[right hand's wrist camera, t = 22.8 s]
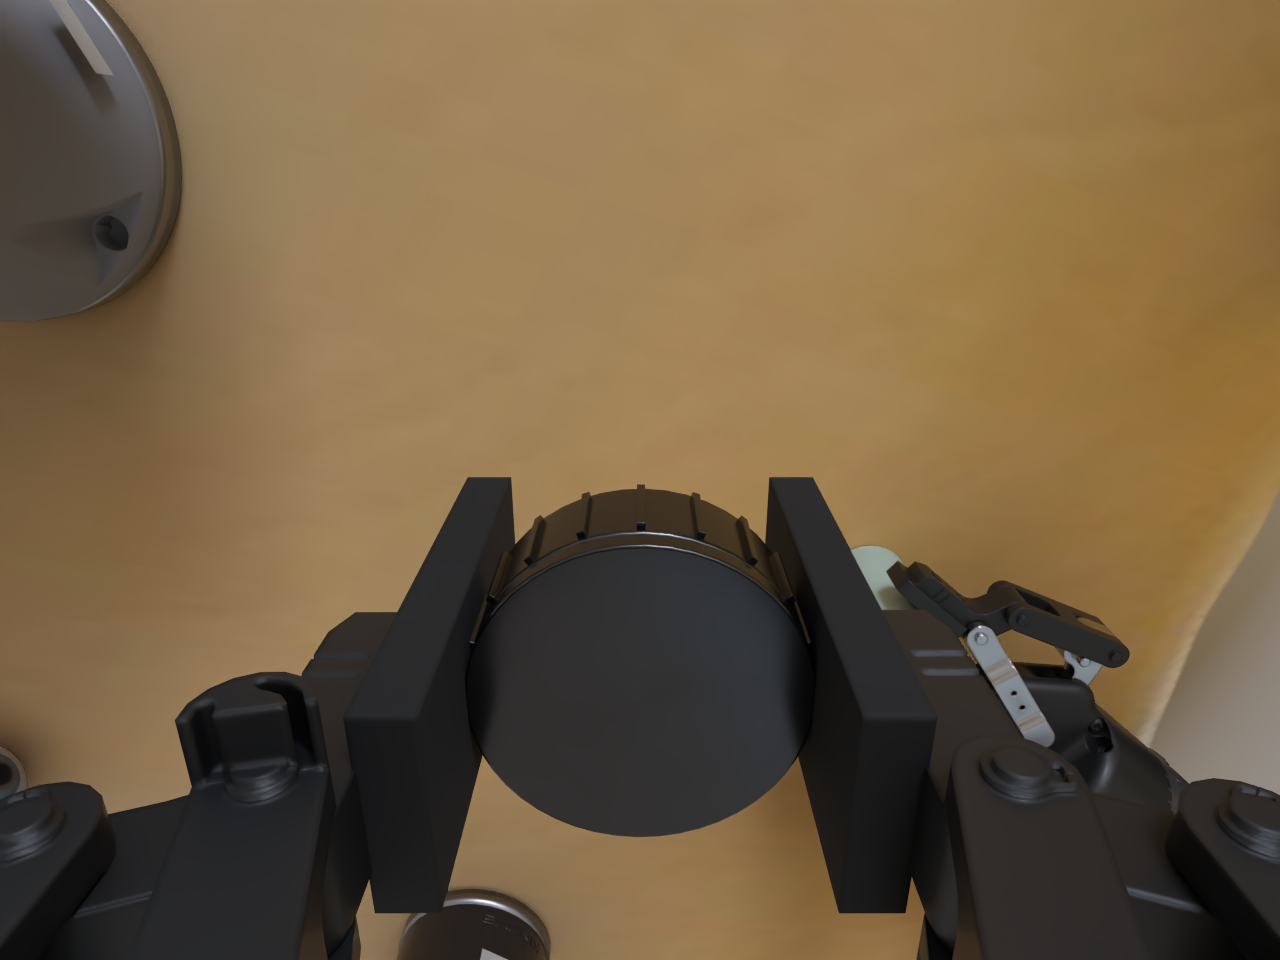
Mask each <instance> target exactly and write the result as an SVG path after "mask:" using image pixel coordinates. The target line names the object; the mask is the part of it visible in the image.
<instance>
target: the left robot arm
mask: <svg viewBox="0 0 1280 960" xmlns="http://www.w3.org/2000/svg"><path fill="white" fill-rule="evenodd" d="M886 572H887V574H888V576H889V578H890V579H891V581H892V583H893V585H894V586H895V588H896V589H897V590H898V591H899V593H900V594H901V595H902V596H903V597H905V598H906V599H907V600H908V601H909V602H911V603H912V604H913V605H914V606H915V607H917V608H918V609H919V610H926V611H928V612H929V613H930V614H932V615H933V616H934V617H936V618H937V619H939V620H940V621H941V622H943V623H944V624H946V625H947V626H948V627H950V628H951V629H952V630H953V631H954V633H955V634H956V636H957V637H958V638H959V637H960V636H961V637H962V638H963V640H964V642H965V644H966V645H967V647H968V649H969V650H970V652H971V654H972V655H973V657H974V659H975V660H976V662H977V664H976V667H977V668H978V670H979V675H980V676H983V677H984V679H985V681H986V682H987V684H988V685H989V687H990V688H991V690H992V691H993V693H994V694H995V696H996V698H997V699H998V701H999V702H1000V704H1001V705H1002V707H1003V708H1004V710H1005V711H1006V713H1007V715H1008V716H1009V718H1010V719H1011V721H1012V722H1013V724H1014V725H1015V727H1016V728H1017V730H1018V732H1019V733H1020V735H1021V736H1022V738H1024V739H1028V740H1031V741H1034V742H1036V743H1038V744H1040V745H1042V746H1045V747H1047V748H1049V749H1051V750H1053V751H1055V752H1057V753H1058V754H1059V755H1061V756H1062V757H1063V758H1064V759H1066V760H1067V761H1068V762H1069V763H1071V764H1072V765H1073V766H1074V767H1076V768H1077V770H1078V771H1079V773H1080V774H1081V776H1082V777H1083V779H1084V780H1085V782H1086V783H1087V785H1088V787H1089V789H1090V791H1092V792H1095V793H1099V794H1102V795H1106V796H1109V797H1112V798H1116V799H1120V800H1125V801H1129V802H1134V803H1138V804H1143V805H1147V806H1152V807H1156V808H1161V809H1165V810H1170V811H1174V809H1175V806H1176V803H1177V800H1178V797H1179V793H1180V792H1181V791H1182V790H1183V789H1184V788H1185V787H1187V786H1188V785H1189V783H1188V782H1186V781H1185V780H1184V779H1183V778H1182V777H1181V776H1180V775H1179V774H1178V773H1177V772H1176V771H1175V770H1173V769H1172V768H1171V767H1170V766H1169V764H1168V763H1167V762H1166V761H1165V759H1164V758H1163V757H1162V756H1161V755H1159V754H1158V753H1157V752H1155V751H1154V750H1152V749H1151V748H1150V749H1149V748H1148V747H1146V746H1145V745H1144V744H1143V743H1142V742H1141V741H1139V740H1138V739H1137V738H1136V737H1135V736H1134V735H1132V734H1131V733H1130V732H1129V731H1128V730H1127V729H1125V728H1124V727H1123V726H1122V725H1121V724H1119V723H1118V722H1117V721H1116V720H1115V719H1114V718H1112V717H1111V716H1110V715H1109V714H1108V713H1107V712H1105V711H1104V710H1103V709H1102V708H1101V707H1099V706H1098V705H1097V704H1096V703H1095V700H1094V695H1093V692H1092V690H1091V689H1090V687H1089V685H1090V683H1091V682H1092V681H1093V679H1094V678H1095V676H1096V675H1097V674H1098V672H1099V671H1100V670H1101V668H1102V667H1103V666H1106V667H1109V668H1116V667H1119V666H1121V665H1123V664H1124V663H1125V662H1126V661H1127V660H1128V658H1129V650H1128V648H1127V647H1126V646H1125V645H1124V644H1123V643H1122V642H1121V641H1120V640H1119V639H1118V638H1117V637H1116V636H1115V635H1114V634H1113V633H1112V632H1111V631H1110V630H1109V629H1108V628H1107V627H1106V626H1105V625H1104V624H1103V623H1102V622H1101V621H1100V620H1099V619H1098V618H1097V617H1095V616H1092V615H1090V614H1087V613H1085V612H1082V611H1080V610H1077V609H1075V608H1072V607H1070V606H1067V605H1065V604H1062V603H1060V602H1057V601H1055V600H1052V599H1050V598H1047V597H1045V596H1042V595H1040V594H1037V593H1035V592H1032V591H1030V590H1027V589H1025V588H1022V587H1020V586H1017V585H1015V584H1012V583H1010V582H1007V581H997V582H995V583H993V584H992V585H991V586H990V587H989V589H988V591H987V594H985V595H983V596H981V597H978V598H966V597H963V596H962V595H960V594H959V593H958V592H957V591H956V590H955V589H953V588H952V587H951V586H950V585H949V584H948V583H946V582H945V581H944V580H943V579H941V578H940V577H939V576H938V575H937V574H936V573H934V572H933V571H932V570H931V569H930V568H929V567H928V566H926V565H924V564H921V563H918V562H914V563H913V564H912V565H911V566H909V567H908V568H907V567H906V566H904V565H903V564H902V563H901V562H899V561H897V562H895V563H894V564H893V565H892V566H891V567H890V568H889V569H888V570H887V571H886ZM1011 629H1013V630H1014V631H1017V632H1019V633H1022V634H1024V635H1027V636H1029V637H1032V638H1035V639H1037V640H1040V641H1042V642H1045V643H1047V644H1050V645H1053V646H1055V648H1056V650H1057V651H1058V652H1059V653H1060V655H1061V656H1062V657H1063V658H1064V659H1065V664H1064V666H1062V665H1050V664H1035V663H1021V662H1011V661H1010V659H1009V657H1008V656H1007V654H1006V652H1005V650H1004V649H1003V647H1002V645H1001V644H1000V642H999V640H998V638H997V637H996V636H997V635H1000V634H1002V633H1004V632H1006V631H1008V630H1011ZM550 946H551V945H550V938H549V934H548V932H547V929H546V927H545V925H544V924H543V922H542V921H541V919H540V918H539V917H538V916H537V915H536V914H535V913H534V912H533V911H532V910H531V909H530V908H528V907H527V906H526V905H524V904H523V903H521V902H519V901H517V900H516V899H513V898H511V897H509V896H506V895H503V894H500V893H497V892H492V891H487V890H478V889H464V890H455V891H450V892H447V894H446V898H445V902H444V906H443V909H442V913H412V914H411V915H410V917H409V918H408V920H407V922H406V925H405V927H404V930H403V934H402V937H401V940H400V944H399V953H398V956H397V959H396V960H549V958H550Z"/></svg>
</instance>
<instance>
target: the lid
mask: <svg viewBox="0 0 1280 960" xmlns="http://www.w3.org/2000/svg"><path fill="white" fill-rule="evenodd" d="M810 647H811V642H810V639H809V636H808V633H807V630H806V627H805V624H804V621H803V618H802V615H801V613H800V610H799V607H798V604H797V601H796V598H795V595H794V593H793V590H792V587H791V585H790V582H789V579H788V576H787V573H786V570H785V567H784V564H783V561H782V558H781V556H780V554H779V553H778V552H776V553H774V554H772V552H771V551H770V549H769V548H768V547H767V546H766V545H765V543H764V542H763V541H762V540H761V539H760V538H759V536H758V535H757V534H756V533H754V532H753V531H752V530H751V529H750V528H749V525H748V521H747V519H746V518H744V517H743V516H741V517H740V518H739V519H737V518H736V517H734V516H733V515H731V514H730V513H728V512H727V511H725V510H723V509H721V508H719V507H717V506H715V505H713V504H711V503H708V502H706V501H703V500H701V499H700V494H697V493H694V492H693V493H692V495H691V496H689V495H685V494H680V493H675V492H670V491H665V490H653V489H645V485H637V489H627V490H618V491H611V492H605V493H600V494H597V495H593V496H591V495H590V492H587V493H584V494H582V499H580V500H578V501H576V502H573V503H571V504H569V505H566V506H564V507H562V508H560V509H559V510H557V511H555V512H554V513H552V514H550V515H548V516H547V517H545V518H544V519H543V518H542V516H541V515H540V516H538V517H537V518H536V519H535V520H534V524H533V527H532V528H531V529H530V530H529V531H528V532H527V533H526V534H525V535H524V536H523V537H522V538H521V539H520V540H519V541H518V542H517V543H516V544H515V546H514V547H513V549H512V550H511V551H510V553H507V552H505V551H504V552H503V553H502V555H501V557H500V560H499V562H498V565H497V568H496V571H495V574H494V577H493V580H492V583H491V586H490V589H489V592H488V595H487V594H486V595H485V598H484V601H483V604H482V607H481V610H480V613H479V616H478V619H477V622H476V625H475V627H474V630H473V633H472V636H471V639H470V649H472V650H471V653H470V656H469V659H468V664H467V669H466V675H465V690H466V702H467V712H468V720H469V723H470V727H471V730H472V733H473V736H474V738H475V740H476V742H477V745H478V747H479V749H480V751H481V753H482V755H483V756H484V758H485V759H486V761H487V762H488V764H489V765H490V767H491V768H492V770H493V771H494V772H495V773H496V774H497V775H498V776H499V778H500V779H501V780H502V781H503V782H504V783H505V784H506V785H507V786H508V787H509V788H510V789H511V790H512V791H514V792H515V793H516V794H517V795H518V796H519V797H520V798H522V799H523V800H525V801H526V802H528V803H529V804H531V805H532V806H534V807H535V808H536V809H538V810H540V811H542V812H544V813H546V814H548V815H549V816H551V817H553V818H555V819H558V820H560V821H563V822H565V823H568V824H570V825H573V826H575V827H579V828H583V829H586V830H590V831H593V832H598V833H604V834H610V835H616V836H631V837H649V836H663V835H671V834H678V833H683V832H687V831H691V830H695V829H700V828H702V827H705V826H708V825H711V824H714V823H717V822H719V821H721V820H724V819H726V818H728V817H730V816H732V815H734V814H736V813H738V812H740V811H741V810H743V809H744V808H746V807H748V806H749V805H751V804H752V803H754V802H755V801H757V800H758V799H759V798H760V797H762V796H763V795H764V794H765V793H767V792H768V791H769V790H770V789H771V788H772V787H773V786H774V785H775V784H776V783H777V782H778V781H779V780H780V779H781V778H782V777H783V776H784V775H785V774H786V772H787V771H788V770H789V768H790V767H791V765H792V764H793V763H794V761H795V760H796V758H797V757H798V755H799V753H800V751H801V749H802V747H803V746H804V744H805V742H806V739H807V736H808V733H809V731H810V728H811V725H812V717H813V708H814V697H815V686H816V673H815V666H814V662H813V658H812V655H811V651H810Z"/></svg>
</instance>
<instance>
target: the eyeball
mask: <svg viewBox="0 0 1280 960" xmlns="http://www.w3.org/2000/svg"><path fill="white" fill-rule="evenodd" d="M27 787H28V785H27V778H26V773H25V771H24V769H23V767H22V765H21V763H20V761H19V760H18V759H17V758H16V757H15V756H14V755H13V754H12V753H11V752H10V751H8V750H7V749H5V748H3V747H1V746H0V800H1V799H3V798H5V797H6V796H8V795H11V794H14V793H17V792H20V791H22V790H26V789H27Z"/></svg>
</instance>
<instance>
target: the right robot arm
mask: <svg viewBox="0 0 1280 960" xmlns="http://www.w3.org/2000/svg"><path fill="white" fill-rule="evenodd" d="M180 192H181V156H180V147H179V140H178V135H177V130H176V126H175V121H174V118H173V114H172V111H171V108H170V105H169V101H168V99H167V96H166V94H165V91H164V89H163V86H162V84H161V82H160V79H159V77H158V75H157V73H156V71H155V69H154V67H153V65H152V63H151V62H150V60H149V58H148V56H147V55H146V53H145V51H144V50H143V48H142V46H141V45H140V43H139V42H138V40H137V39H136V38H135V36H134V35H133V33H132V32H131V30H130V29H129V28H128V26H127V25H126V24H125V23H124V21H123V20H122V19H121V18H120V17H119V15H118V14H117V13H116V12H115V11H114V9H113V8H112V7H111V6H110V5H109V4H108V3H107V2H106V1H105V0H0V321H39V320H47V319H54V318H58V317H62V316H67V315H70V314H74V313H77V312H81V311H84V310H88V309H91V308H94V307H97V306H99V305H102V304H104V303H106V302H108V301H110V300H112V299H114V298H116V297H118V296H120V295H121V294H123V293H124V292H126V291H127V290H129V289H130V288H131V287H132V286H133V285H135V284H136V283H137V282H138V281H139V280H140V279H141V278H142V277H143V276H144V275H145V274H146V273H147V272H148V271H149V270H150V269H151V267H152V266H153V264H154V263H155V262H156V260H157V259H158V257H159V256H160V254H161V252H162V251H163V249H164V247H165V245H166V243H167V241H168V239H169V236H170V234H171V231H172V229H173V226H174V222H175V219H176V215H177V211H178V206H179V200H180ZM765 545H766V546H767V547H768V548H769V549H770V551H771V552H772V554H774V553H776V552H778V553H779V554H780V556H781V558H782V561H783V564H784V567H785V570H786V573H787V576H788V579H789V582H790V585H791V587H792V590H793V593H794V595H795V598H796V601H797V604H798V607H799V610H800V613H801V615H802V618H803V621H804V624H805V627H806V630H807V633H808V636H809V639H810V642H811V647H810V651H811V655H812V658H813V662H814V666H815V673H816V686H815V697H814V708H813V717H812V725H811V728H810V731H809V733H808V736H807V739H806V742H805V744H804V746H803V747H802V749H801V751H800V753H799V755H798V757H799V761H800V765H801V769H802V772H803V776H804V780H805V784H806V788H807V792H808V796H809V799H810V803H811V807H812V811H813V815H814V819H815V823H816V826H817V830H818V834H819V838H820V842H821V846H822V850H823V854H824V857H825V861H826V865H827V869H828V873H829V877H830V881H831V884H832V888H833V892H834V896H835V900H836V904H837V908H838V911H839V913H906V907H907V901H908V895H909V888H910V882H911V876H912V878H913V881H914V884H915V886H916V889H917V892H918V894H919V897H920V900H921V903H922V905H923V908H924V911H925V914H924V920H923V925H922V931H921V937H920V942H919V948H918V954H917V960H1280V795H1278V794H1276V793H1274V792H1272V791H1269V790H1266V789H1263V788H1261V787H1257V786H1254V785H1250V784H1247V783H1244V782H1241V781H1232V780H1224V779H1215V778H1212V779H1207V780H1200V781H1195V782H1191V783H1190V784H1189V785H1188V786H1187V787H1185V788H1184V789H1183V790H1182V791H1181V792H1180V793H1179V797H1178V800H1177V803H1176V806H1175V809H1174V811H1170V810H1165V809H1161V808H1156V807H1152V806H1147V805H1143V804H1138V803H1134V802H1129V801H1125V800H1120V799H1116V798H1112V797H1109V796H1106V795H1102V794H1099V793H1095V792H1092V791H1090V789H1089V787H1088V785H1087V783H1086V782H1085V780H1084V779H1083V777H1082V776H1081V774H1080V773H1079V771H1078V770H1077V768H1076V767H1074V766H1073V765H1072V764H1071V763H1069V762H1068V761H1067V760H1066V759H1064V758H1063V757H1062V756H1061V755H1059V754H1058V753H1057V752H1055V751H1053V750H1051V749H1049V748H1047V747H1045V746H1042V745H1040V744H1038V743H1036V742H1034V741H1031V740H1028V739H1024V738H1022V736H1021V735H1020V733H1019V732H1018V730H1017V728H1016V727H1015V725H1014V724H1013V722H1012V721H1011V719H1010V718H1009V716H1008V715H1007V713H1006V711H1005V710H1004V708H1003V707H1002V705H1001V704H1000V702H999V701H998V699H997V698H996V696H995V694H994V693H993V691H992V690H991V688H990V687H989V685H988V684H987V682H986V681H985V679H984V677H983V676H980V675H979V670H978V668H977V667H976V665H975V664H974V662H973V660H972V659H971V657H967V651H966V650H965V648H964V647H963V645H962V644H961V642H960V640H959V639H958V637H957V636H956V634H955V633H954V631H953V630H952V629H951V628H950V627H948V626H947V625H946V624H944V623H943V622H941V621H940V620H939V619H937V618H936V617H934V616H933V615H932V614H930V613H929V612H928V611H926V610H882V609H881V607H880V605H879V603H878V602H877V600H876V598H875V596H874V594H873V592H872V590H871V588H870V586H869V584H868V582H867V580H866V579H865V577H864V575H863V573H862V571H861V569H860V567H859V565H858V563H857V561H856V559H855V558H854V556H853V554H852V552H851V550H850V548H849V546H848V544H847V542H846V540H845V538H844V536H843V535H842V533H841V531H840V529H839V527H838V525H837V523H836V521H835V519H834V517H833V515H832V513H831V512H830V510H829V508H828V506H827V504H826V502H825V500H824V498H823V496H822V494H821V492H820V490H819V489H818V487H817V485H816V483H815V481H814V479H813V477H770V478H769V493H768V509H767V525H766V541H765ZM514 546H515V533H514V518H513V502H512V486H511V477H468V478H467V480H466V482H465V484H464V486H463V488H462V490H461V491H460V493H459V495H458V497H457V499H456V501H455V503H454V505H453V507H452V509H451V511H450V512H449V514H448V516H447V518H446V520H445V522H444V524H443V526H442V528H441V530H440V532H439V534H438V535H437V537H436V539H435V541H434V543H433V545H432V547H431V549H430V551H429V553H428V555H427V557H426V558H425V560H424V562H423V564H422V566H421V568H420V570H419V572H418V574H417V576H416V578H415V580H414V581H413V583H412V585H411V587H410V589H409V591H408V593H407V595H406V597H405V599H404V601H403V603H402V604H401V606H400V608H399V610H398V612H355V613H354V614H353V615H351V616H350V617H349V618H347V619H346V620H344V621H343V622H342V623H340V624H339V625H337V626H336V627H335V628H333V629H332V630H331V631H329V632H328V634H327V635H326V637H325V638H324V640H323V641H322V643H321V645H320V646H319V648H318V649H317V651H316V652H315V654H314V659H311V660H310V662H309V663H308V665H307V666H306V668H305V669H304V671H303V673H302V676H298V675H294V674H291V673H287V672H259V673H255V674H250V675H246V676H241V677H237V678H233V679H231V680H228V681H226V682H224V683H221V684H219V685H217V686H214V687H212V688H210V689H208V690H206V691H205V692H203V693H202V694H201V695H199V696H198V697H196V698H195V699H193V700H192V701H191V702H189V703H188V704H187V705H186V706H185V708H184V709H183V710H182V712H181V713H180V714H179V715H178V717H177V718H176V719H175V723H176V726H177V730H178V734H179V738H180V742H181V746H182V750H183V754H184V758H185V762H186V765H187V769H188V773H189V777H190V781H191V785H192V788H191V791H190V794H189V795H186V796H183V797H180V798H176V799H173V800H169V801H166V802H162V803H157V804H153V805H148V806H144V807H139V808H135V809H130V810H126V811H121V812H117V813H112V814H107V811H106V807H105V804H104V801H103V798H102V795H101V794H99V793H98V792H97V791H96V790H95V789H93V788H92V787H91V786H90V785H85V784H79V783H74V782H60V783H52V784H44V785H39V786H35V787H32V788H29V789H26V790H22V791H20V792H17V793H14V794H11V795H8V796H6V797H5V798H3V799H1V800H0V960H360V951H361V944H360V938H359V931H358V925H357V920H356V913H357V911H358V908H359V905H360V903H361V900H362V897H363V894H364V892H365V889H366V886H367V884H368V881H369V879H370V885H371V892H372V898H373V904H374V910H375V913H442V909H443V906H444V902H445V898H446V894H447V890H448V886H449V882H450V879H451V875H452V871H453V867H454V863H455V859H456V855H457V852H458V848H459V844H460V840H461V836H462V832H463V828H464V824H465V821H466V817H467V813H468V809H469V805H470V801H471V797H472V794H473V790H474V786H475V782H476V778H477V774H478V770H479V767H480V763H481V759H482V753H481V751H480V749H479V747H478V745H477V742H476V740H475V738H474V736H473V733H472V730H471V727H470V723H469V720H468V712H467V702H466V690H465V675H466V669H467V664H468V659H469V656H470V653H471V650H472V649H470V639H471V636H472V633H473V630H474V627H475V625H476V622H477V619H478V616H479V613H480V610H481V607H482V604H483V601H484V598H485V595H486V594H487V595H488V592H489V589H490V586H491V583H492V580H493V577H494V574H495V571H496V568H497V565H498V562H499V560H500V557H501V555H502V553H503V552H504V551H505V552H507V553H510V551H511V550H512V549H513V547H514Z"/></svg>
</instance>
